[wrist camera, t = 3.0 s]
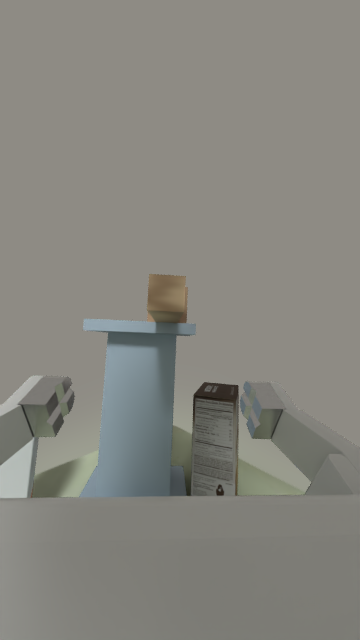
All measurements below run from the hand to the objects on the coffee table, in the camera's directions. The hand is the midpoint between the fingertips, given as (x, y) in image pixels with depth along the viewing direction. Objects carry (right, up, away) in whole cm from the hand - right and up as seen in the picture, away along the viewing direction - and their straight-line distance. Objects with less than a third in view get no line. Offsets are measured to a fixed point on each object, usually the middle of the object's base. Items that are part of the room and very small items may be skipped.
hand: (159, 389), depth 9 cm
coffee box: (+7, -24, +20) cm, 32 cm away
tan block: (-1, +3, +17) cm, 17 cm away
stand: (-6, -23, +19) cm, 31 cm away
